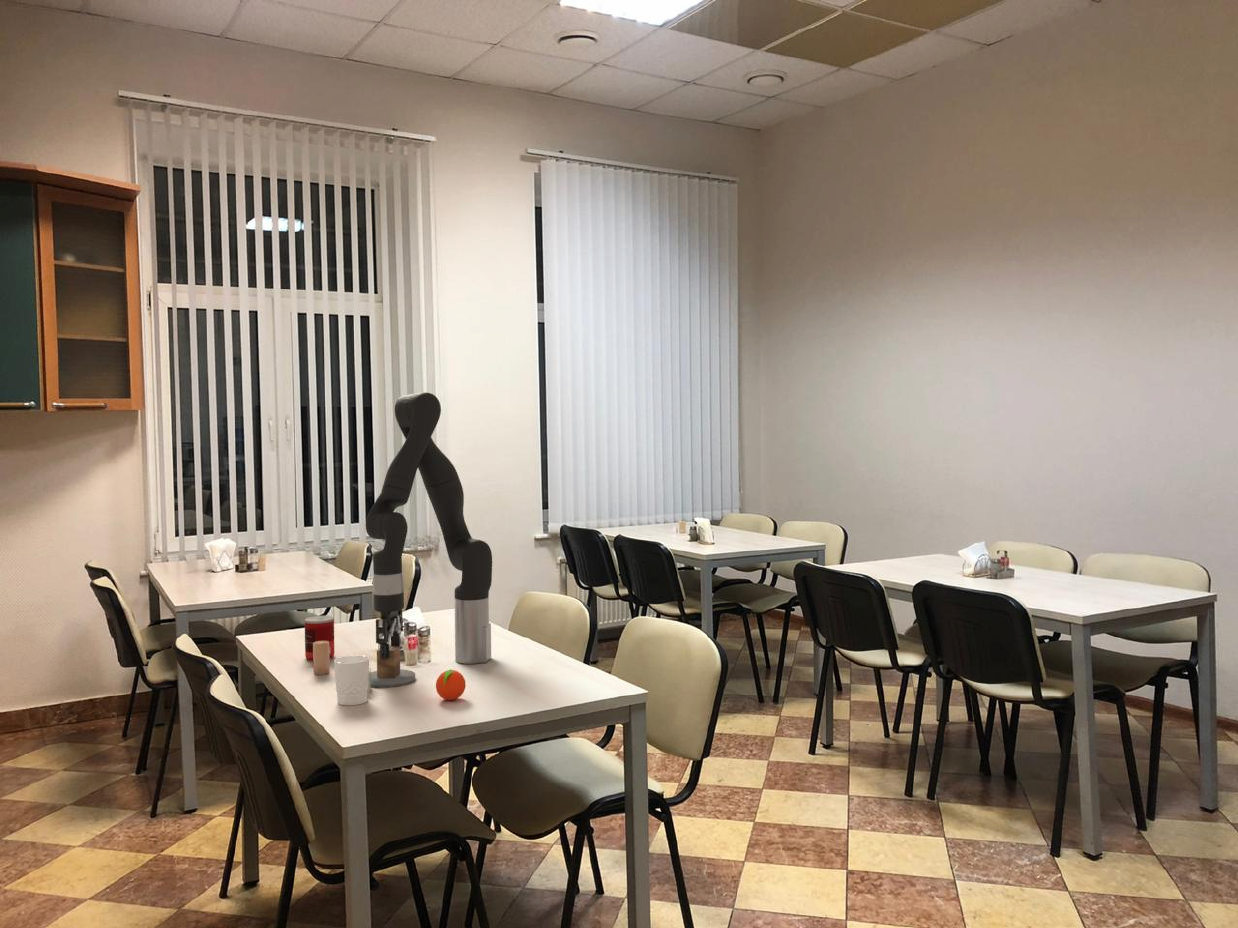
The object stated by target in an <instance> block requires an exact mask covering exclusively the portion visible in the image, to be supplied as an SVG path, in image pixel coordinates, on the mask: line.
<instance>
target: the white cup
mask: <svg viewBox="0 0 1238 928" xmlns="http://www.w3.org/2000/svg"><path fill="white" fill-rule="evenodd" d="M333 662H334V679H335V680H334V681H335V690H336V697H337V698H336V699H337V704H338V705H340V706H357V705H362V704H365V703H366V702H367V701H368V696H369V694H368V683H369V668H370V657H369V656H367V655H363V654H362V655H360V654H359V655H357V654H356V655H355V654H353V655H345V656H339V657H336V658H335V659H334V660H333Z"/></svg>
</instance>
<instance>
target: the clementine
mask: <svg viewBox="0 0 1238 928" xmlns="http://www.w3.org/2000/svg"><path fill="white" fill-rule="evenodd" d="M435 682H436V683H435V689H436V690H435V691H436V693H437V695H439V697H440V698H441V699H444V700H446V701H455V700H457V699H459V698H460V697H462V695H463V694H464V693H465V690H466V686H467V685H466V684H467V683H466V679H465V677H464V676H463V674H462V673H461V672H459V671H457V670H455V669H447V670H445V671H443V672H442V673H440V674H439V676H438V677H437V679H436V681H435Z"/></svg>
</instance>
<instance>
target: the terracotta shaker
mask: <svg viewBox="0 0 1238 928" xmlns="http://www.w3.org/2000/svg"><path fill="white" fill-rule="evenodd" d="M312 662H313V666H312V667H313V674H314V676H315V675H316V676H323V675H328V674H330V673H331V671H330V666H331V664H330V659H329V641H316V642H314V643H313V661H312Z"/></svg>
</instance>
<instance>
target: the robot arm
mask: <svg viewBox="0 0 1238 928" xmlns="http://www.w3.org/2000/svg"><path fill="white" fill-rule="evenodd" d="M441 412H442V407H441V403H440V400H439V398H438V397H437V396H436V395H435V394H433V393H431V392H424V391H423V392H416V393H411V394H406V395H405V394H404V395H401V396H400V397H398V399H397V400H396V402H395V405H394V416H395V419H396V422H397V424H398V427H399V429H400V431H401V432H402V435H403V437H404V438H405V441H404V443H403V444H402V446H401V448H400V449H399V451H397V453H396V455H395V456H394V458H393V459H392V461H391V463H390V465H389V467H388V469H387V471H386V474H385V477H384V481H383V484H382V488H381V491H380V494H379V495H378V496H377V499H376V500H375V502H374V504H373V505H372V507H371V508H370V510H369V512H368V514H367V516H366V519H365V531H366V534H367V535H368V536H369V538H372V539H373V540H384V545H383V548H381V549H378V550H376V551H375V552H374V553H373V556H372V564H373V567H372V568H373V570H372V571H373V578H372V597H373V598H372V602H373V604H372V605H373V610H374V611H375V612H379V613H380V618H376V619H375V644H378V645H379V648H380V658H381V659H389V658H390V646H400V647H401V635H402V632H403V631H404V623H403V622H404V620H403V619H404V618H403V609H405V591H404V588H405V587H404V585H405V584H404V575H403V563H402V562H403V560H402V559H403V558H402V557H403V551H404V549H405V548H404V547H405V544H406V540H407V535H408V523H407V519H406V517H405V515H404V514H402V513H400V512H397V511H395V510H396V509H397V508H398V507H402V506H406V504H407V503H408V501H409V498H410V495H411V492H412V488H413V484H414V481H415V479H416V478H415V477H416V475H417V474H416V473H417V471H419V473H420V476H421V479H422V482H423V486H424V487H425V490H426V493H427V497H428V499H429V501H430V503H431V506H432V508H433V511H434V514H435V516H436V519H437V522H438V524H439V526H440V529H441V532H442V536H443V541H444V546H445V548H446V553H447V556H448V558H449V563H451V565H452V567H454V569H455V570H458V571H460V572H461V583H460V584H459V585H457V586H456V587H455V588H454V641H455V642H454V656H455V657H454V658H455V659H454V660H455V662H456V663H458V664H467V665H468V664H471V665H472V664H473V665H475V664H481V663H488V662H489V660H490V659H491V658H492V625H491V623H490V612H489V610H490V609H489V608H490V606H489V605H490V601H489V599H490V598H489V597H490V596H489V595H490V589H491V586H492V579H493V553H492V549H491V546H490V545H489V544H488V543H487V541H484V540H481V539H475V538H473V537H472V536H471V533H470V531H469V528H468V526H467V524H466V521H465V516H464V502H465V501H464V499H465V496H464V495H465V494H464V488H463V485H462V483H461V480H460V477H459V474H458V472H457V469H456V467H455V466H454V464H453V462H452V461H451V460H450V459H449V458H448V457H447V456H446V454H445V453H443V451H441V449H440V448H439V447H438V446H437V445H436V443H435V441H434V440H433V437H432V436H433V434H434V432H435V429H436V427H437V426H438V423H439V420H440V416H441V414H442V413H441Z"/></svg>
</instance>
